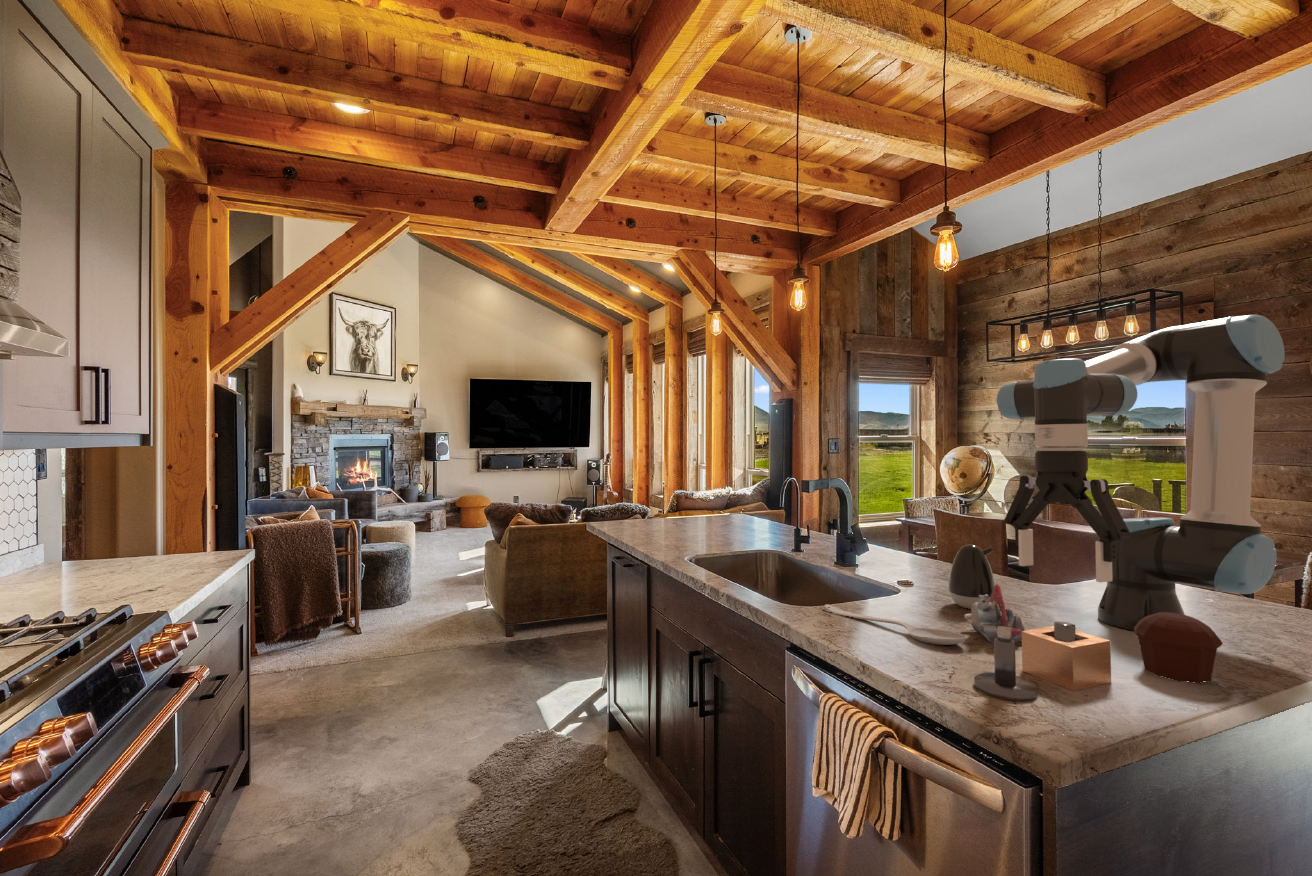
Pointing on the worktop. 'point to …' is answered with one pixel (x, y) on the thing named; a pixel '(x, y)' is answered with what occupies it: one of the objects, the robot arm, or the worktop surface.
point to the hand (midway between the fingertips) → (1062, 572)
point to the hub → (1005, 673)
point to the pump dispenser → (971, 576)
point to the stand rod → (1064, 631)
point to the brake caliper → (994, 617)
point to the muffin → (1177, 646)
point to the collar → (1066, 658)
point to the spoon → (910, 629)
